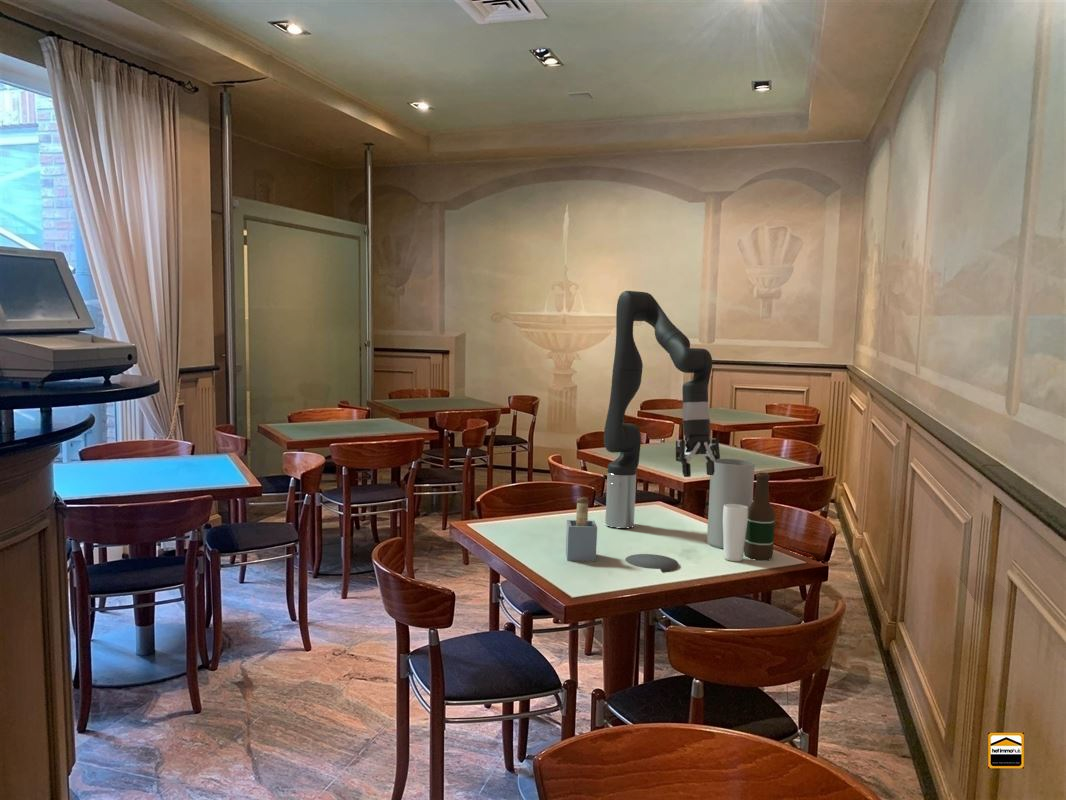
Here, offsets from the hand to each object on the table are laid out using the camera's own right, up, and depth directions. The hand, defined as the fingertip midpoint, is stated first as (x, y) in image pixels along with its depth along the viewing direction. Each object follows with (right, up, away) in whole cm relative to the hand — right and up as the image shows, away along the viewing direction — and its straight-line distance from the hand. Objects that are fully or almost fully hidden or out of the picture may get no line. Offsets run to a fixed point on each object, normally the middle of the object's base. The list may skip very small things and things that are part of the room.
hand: (698, 476), depth 219 cm
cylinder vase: (+12, -22, +13) cm, 28 cm away
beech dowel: (-34, -21, -9) cm, 41 cm away
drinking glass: (+9, -23, -3) cm, 25 cm away
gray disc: (-15, -23, -10) cm, 29 cm away
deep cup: (-34, -22, -9) cm, 41 cm away
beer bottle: (+17, -23, +1) cm, 29 cm away
